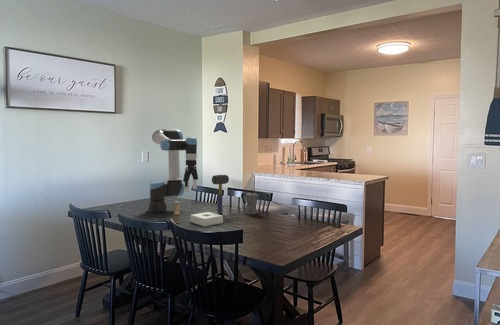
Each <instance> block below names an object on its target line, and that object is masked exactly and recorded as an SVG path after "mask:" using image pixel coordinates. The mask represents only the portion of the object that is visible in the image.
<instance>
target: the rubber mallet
mask: <svg viewBox="0 0 500 325" xmlns="http://www.w3.org/2000/svg"><path fill="white" fill-rule="evenodd" d="M211 182H212V185H218V195H217V211H216V212H217V213H218V214H222V213H223V185H226V184H228V183H229V182H230V178H229V175H228V174H217V175H216V174H215V175H212V177H211Z"/></svg>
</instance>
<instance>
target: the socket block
mask: <svg viewBox="0 0 500 325" xmlns="http://www.w3.org/2000/svg"><path fill="white" fill-rule="evenodd" d="M189 219H190V223H193V224H195V225H198V224H199V225H198V226H202V227H208V226H214V225H218V224H223V223H224V215H221V214H220V213H218V214H217V213H213V212H211V211H207V212H201V213H200V212H199V213H195V214H190V218H189Z"/></svg>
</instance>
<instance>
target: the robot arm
mask: <svg viewBox="0 0 500 325" xmlns="http://www.w3.org/2000/svg"><path fill="white" fill-rule="evenodd" d="M151 138H152V142H154V143H155V144H157V145H159V147H160V150H161V151H166V152H168V156H167V157H168V158H167V160H168V178H167V180H156V181H152V182H151V183H150V184H149V203H148V206H147V212H148V213H154V214H155V213H156V214H157V213H165V212H166V213H167V212H168V206H167V202H166V198H172V197H173V198H177V197H182V196H183V195H184V192H189V190H190V182H189V180H190V178H191V177H192V189H193V190H197V183H198V182H197V180H199V175H198V170H197V157H198V154H197V153H198V152H197V149H198V148H197V146H198V141H197V140H198V139H197V137H191V136H190V137H188V136H187V137H186V138H185V139H184V135H183V133H182V131H181V130H179V129H171V128H170V129H169V128H168V129H166V128H164V129H163V128H161V129H157V130H155V131H154V132H153V133H152V136H151ZM180 151H185V170H184V175H183V179H182V178H181V175H180V174H181V173H180V171H181V170H180V168H181V167H180ZM182 180H183V181H182Z"/></svg>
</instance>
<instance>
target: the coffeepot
mask: <svg viewBox="0 0 500 325" xmlns="http://www.w3.org/2000/svg"><path fill="white" fill-rule="evenodd" d="M240 196H241V200H242V203H243V204H246V209H245V214H246V215H256V214H257V206H256V203H257V200H258V198H259V197H260V195H259V194H258V193H255V192H253V190H250V192H248V193H247V192H242V193H241V195H240ZM244 196H245V198H244ZM245 199H246V200H245ZM245 201H246V202H245Z"/></svg>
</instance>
